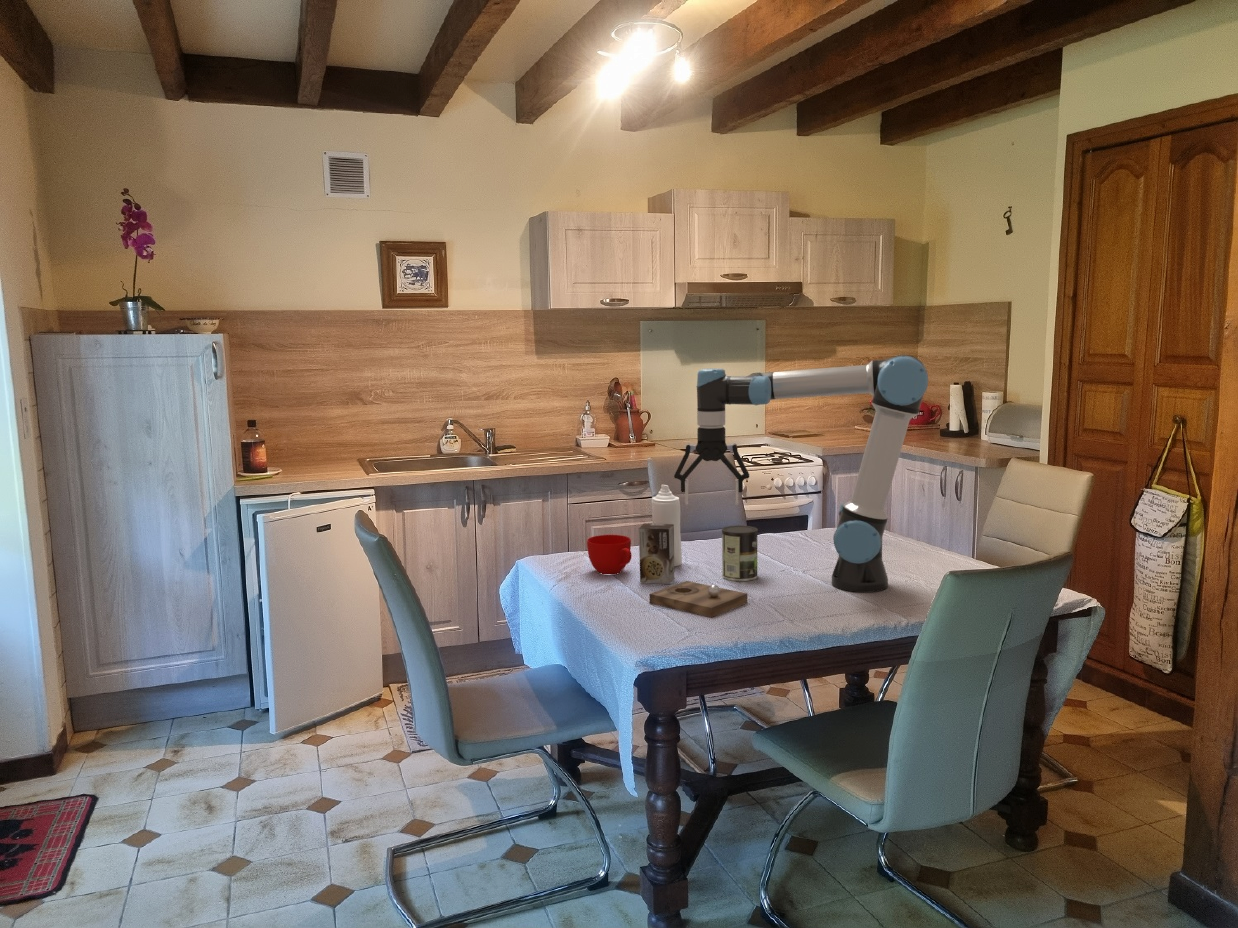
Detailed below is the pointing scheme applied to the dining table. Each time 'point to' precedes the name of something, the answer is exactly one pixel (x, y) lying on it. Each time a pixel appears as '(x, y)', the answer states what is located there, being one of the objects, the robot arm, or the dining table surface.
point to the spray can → (668, 517)
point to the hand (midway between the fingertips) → (711, 504)
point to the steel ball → (713, 590)
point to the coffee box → (656, 553)
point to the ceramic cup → (609, 553)
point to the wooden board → (697, 599)
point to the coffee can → (739, 553)
